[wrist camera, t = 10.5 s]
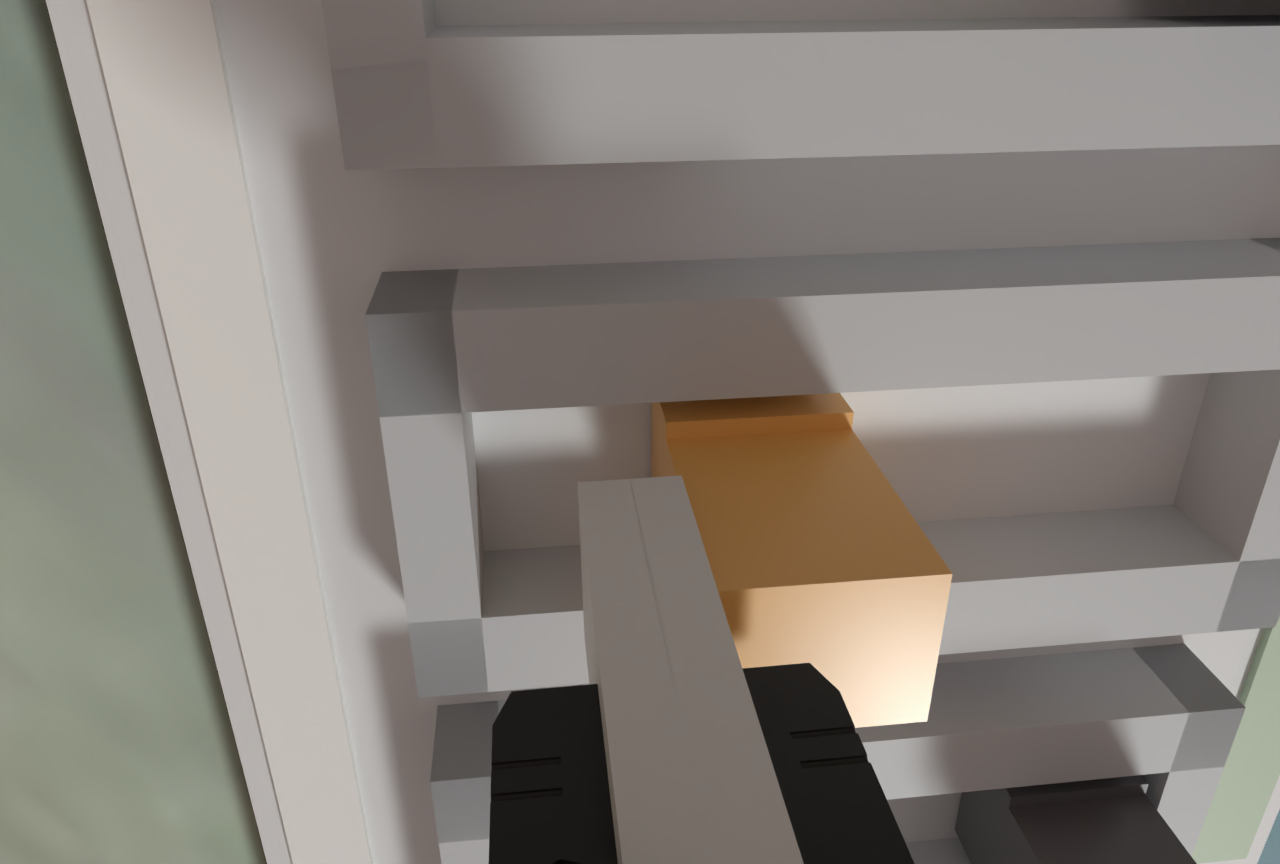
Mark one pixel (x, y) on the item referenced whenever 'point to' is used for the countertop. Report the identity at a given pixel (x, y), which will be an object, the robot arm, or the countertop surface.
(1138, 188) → the panel
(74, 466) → the countertop surface
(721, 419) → the block
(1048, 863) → the block
